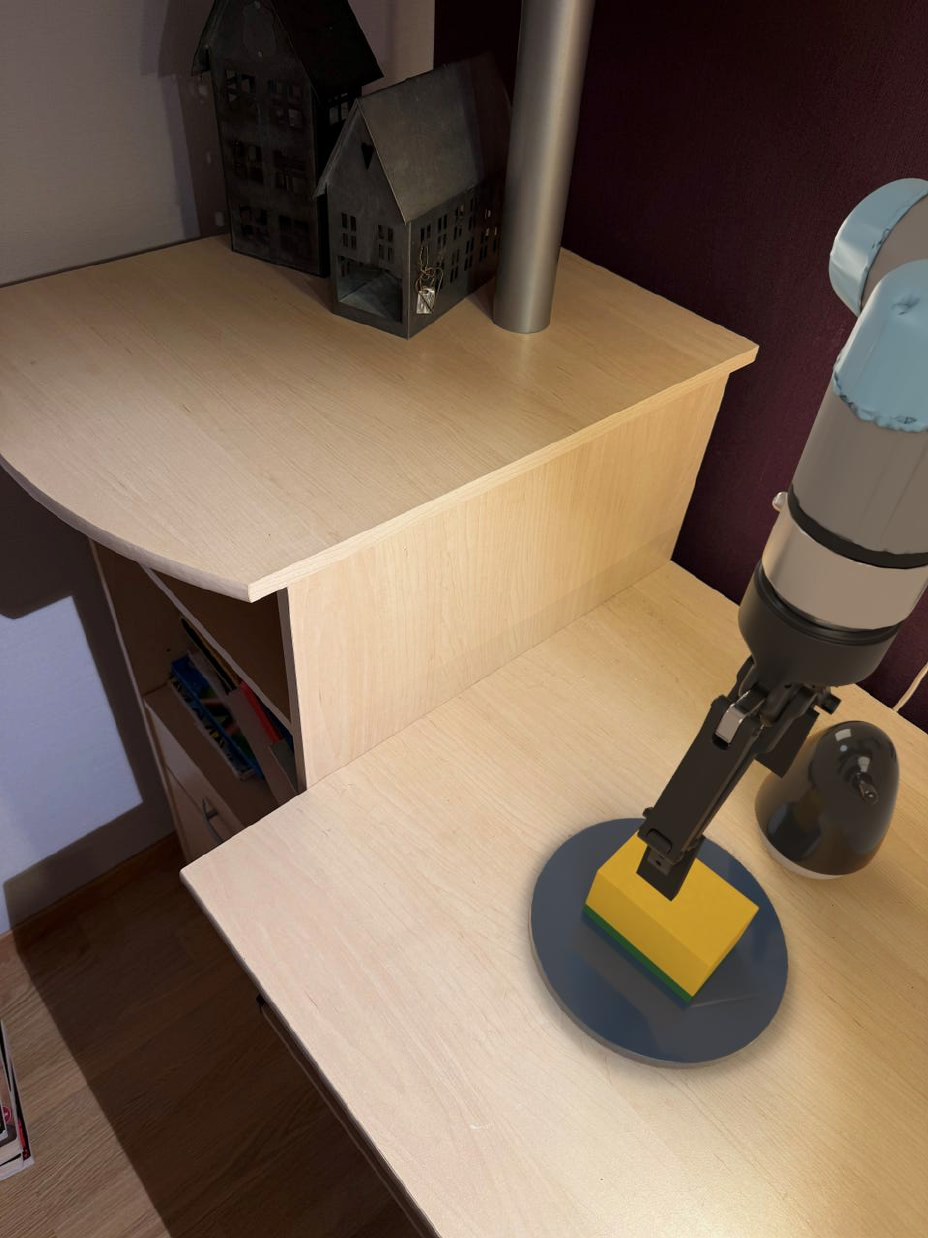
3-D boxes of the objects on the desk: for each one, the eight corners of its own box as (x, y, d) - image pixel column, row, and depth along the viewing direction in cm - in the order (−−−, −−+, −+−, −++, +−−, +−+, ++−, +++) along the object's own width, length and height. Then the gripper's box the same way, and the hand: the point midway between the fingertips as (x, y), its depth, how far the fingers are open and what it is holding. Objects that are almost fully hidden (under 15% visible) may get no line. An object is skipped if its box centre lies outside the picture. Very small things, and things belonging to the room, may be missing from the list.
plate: (752, 832, 79) (756, 825, 78) (812, 1076, 64) (818, 1070, 64) (524, 818, 78) (526, 810, 77) (533, 1062, 63) (536, 1056, 63)
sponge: (735, 946, 70) (759, 907, 66) (687, 1004, 66) (711, 967, 62) (631, 861, 74) (648, 819, 70) (582, 911, 71) (596, 871, 67)
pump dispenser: (740, 882, 75) (804, 773, 65) (742, 783, 83) (800, 670, 72) (865, 915, 74) (951, 809, 64) (855, 811, 81) (932, 701, 71)
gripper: (874, 460, 54) (763, 693, 69) (624, 664, 40) (552, 900, 55) (997, 520, 51) (853, 752, 66) (771, 766, 37) (652, 989, 52)
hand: (715, 820), depth 60 cm, fingers open, 13 cm apart
